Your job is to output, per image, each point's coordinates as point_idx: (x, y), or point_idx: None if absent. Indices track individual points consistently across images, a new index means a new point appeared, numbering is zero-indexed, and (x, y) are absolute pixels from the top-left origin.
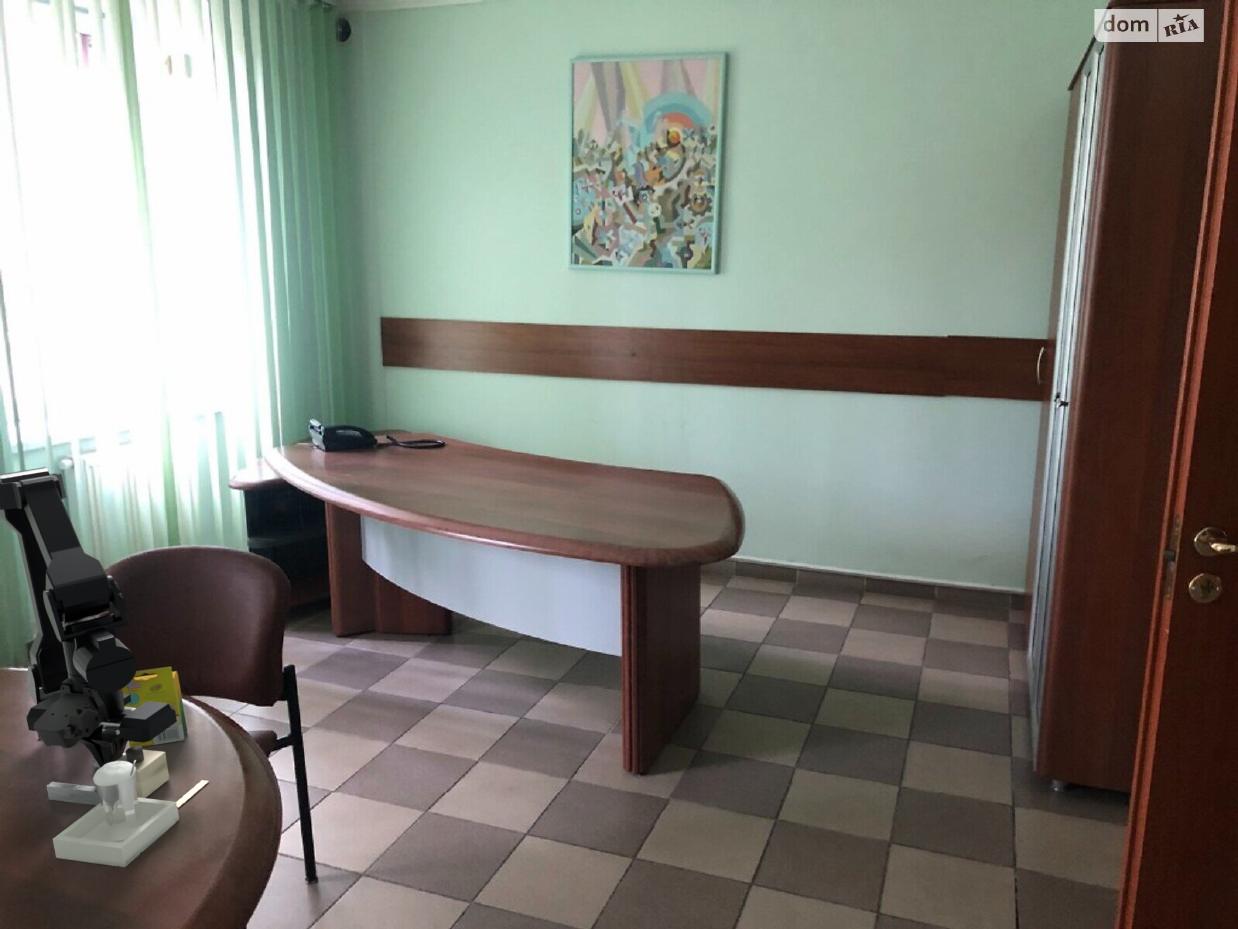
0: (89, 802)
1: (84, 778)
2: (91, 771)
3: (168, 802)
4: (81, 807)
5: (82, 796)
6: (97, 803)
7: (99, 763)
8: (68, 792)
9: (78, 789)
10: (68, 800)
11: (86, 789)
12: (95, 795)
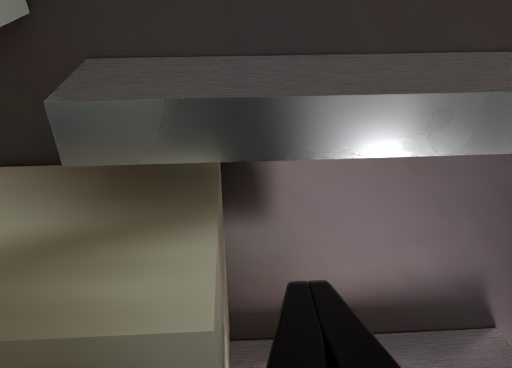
0: (297, 59)
1: (503, 261)
2: (497, 305)
3: None
4: (339, 14)
5: (365, 74)
6: (229, 63)
7: (377, 364)
8: (507, 78)
9: (416, 96)
10: (481, 54)
11: (342, 113)
12: (233, 84)
